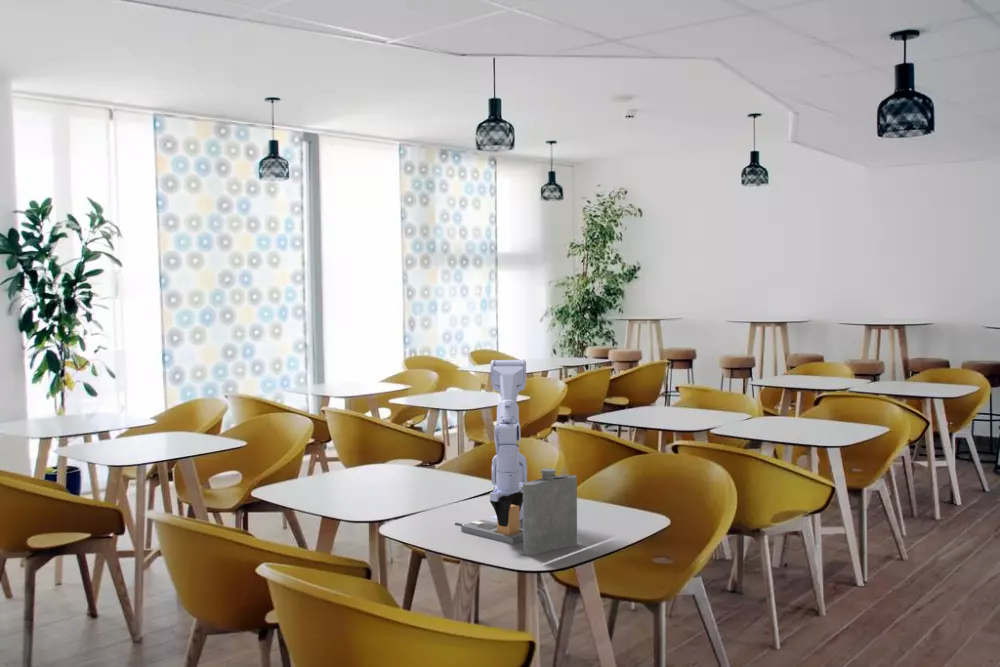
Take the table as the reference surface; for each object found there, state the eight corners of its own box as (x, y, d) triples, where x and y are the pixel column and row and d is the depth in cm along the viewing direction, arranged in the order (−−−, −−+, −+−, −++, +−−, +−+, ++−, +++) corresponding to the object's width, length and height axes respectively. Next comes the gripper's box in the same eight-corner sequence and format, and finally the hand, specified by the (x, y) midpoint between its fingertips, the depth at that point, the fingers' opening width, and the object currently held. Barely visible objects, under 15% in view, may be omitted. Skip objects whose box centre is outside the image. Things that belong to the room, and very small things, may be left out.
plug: (507, 534, 230) (507, 503, 230) (519, 536, 228) (519, 505, 227) (497, 537, 227) (497, 506, 227) (509, 540, 225) (508, 508, 224)
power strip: (466, 523, 243) (466, 514, 243) (533, 539, 227) (533, 529, 227) (445, 529, 237) (445, 520, 237) (512, 546, 221) (512, 536, 221)
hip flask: (528, 558, 211) (528, 474, 210) (518, 554, 214) (517, 472, 213) (579, 546, 220) (579, 466, 219) (569, 543, 224) (568, 463, 223)
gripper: (509, 464, 235) (509, 515, 236) (479, 474, 223) (479, 528, 223) (532, 466, 231) (532, 518, 232) (503, 477, 219) (503, 531, 220)
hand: (508, 523), depth 227 cm, fingers closed on plug, 5 cm apart
